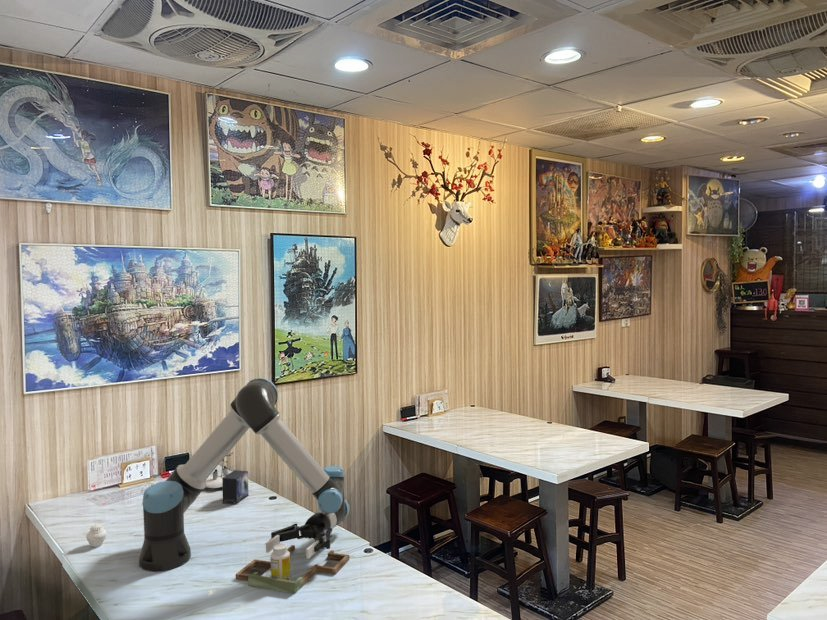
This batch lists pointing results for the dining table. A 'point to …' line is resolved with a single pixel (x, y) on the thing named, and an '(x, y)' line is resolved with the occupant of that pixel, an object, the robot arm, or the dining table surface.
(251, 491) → the dining table surface
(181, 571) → the dining table surface
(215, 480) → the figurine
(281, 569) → the supplement bottle
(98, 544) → the off-white rounded lump
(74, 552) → the dining table surface
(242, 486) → the small box
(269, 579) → the lane
